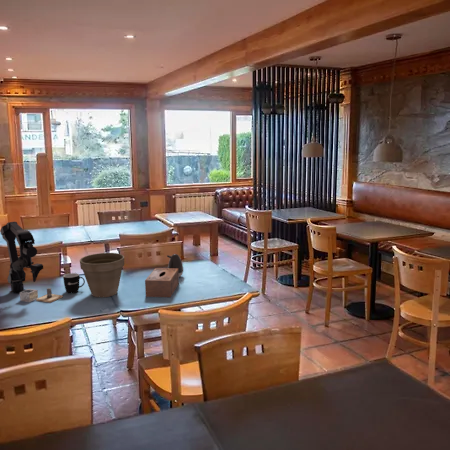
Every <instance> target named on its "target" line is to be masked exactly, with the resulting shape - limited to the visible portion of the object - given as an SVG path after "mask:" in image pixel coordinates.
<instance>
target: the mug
mask: <svg viewBox="0 0 450 450" xmlns="http://www.w3.org/2000/svg"><path fill="white" fill-rule="evenodd" d="M62 278H63V285H64V289H65V292H66V293H67V294H76V293H77V292H79V289H80V288H83V286H85V284H86V279H85V277H83V276H80V274H79V273H76V272H71V273H65V274H64V275H63V277H62ZM80 279H82V280H83V283H82V284H81V285H80Z"/></svg>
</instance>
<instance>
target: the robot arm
mask: <svg viewBox="0 0 450 450" xmlns="http://www.w3.org/2000/svg"><path fill="white" fill-rule="evenodd" d="M0 235H1V237H2V239H3V240H4V241H5V243H6V245H7V246H6V247H7V251H8V256H9V262H10V264H9V270H8V272H9V273H8V276H7V282H8V284H10V291H9V293H11V294H12V293H13V294H18V295H19V294H20V292H22V291H24V290H26V289H24V287H25V286H24V282H25V281H26V271H25V270H24V269H25V268H26V269H30V273H31V274H32V281H33V283H35V282H36V281H37V278H38V275H39V274H40V272H41V271H42V270H43V269H44V265H43V264H42V263H35V264H34V261H32V258H34V257H36V256H37V255H38V249H37V248H36V247H35V246H34V245H35V242H36V241H35V238H34V236H33V234H32V232H31V231H30V230H27V229H23V228H22V227H21V226H20V225H19V224H18V222H17V221H9V222H7V223H6V224H4V225H3V226H2V227H1V229H0ZM16 241H17V243H16ZM16 244H17V245H18V246H19V255H18V250H17V245H16Z"/></svg>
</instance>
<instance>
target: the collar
mask: <svg viewBox="0 0 450 450" xmlns="http://www.w3.org/2000/svg"><path fill="white" fill-rule="evenodd" d="M37 298H39V293H38V290H37V289H32V288H26V289H25V290H24V291H22V292H20V293H19V300H20V302H25V303H31V302H34V301H36V299H37Z"/></svg>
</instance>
